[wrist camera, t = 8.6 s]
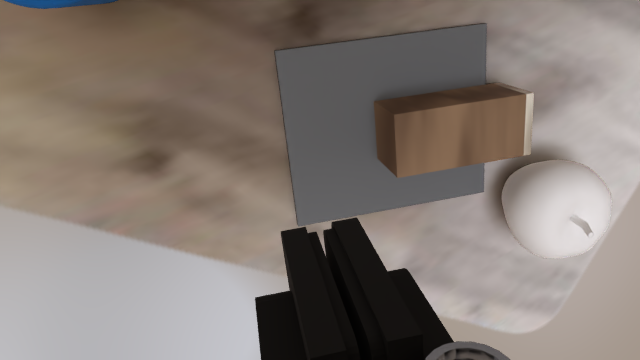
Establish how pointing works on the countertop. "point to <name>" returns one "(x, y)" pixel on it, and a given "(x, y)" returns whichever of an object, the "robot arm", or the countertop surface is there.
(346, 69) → the mat
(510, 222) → the plain white apple
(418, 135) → the block
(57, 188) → the countertop surface
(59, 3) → the beverage can
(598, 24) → the countertop surface
